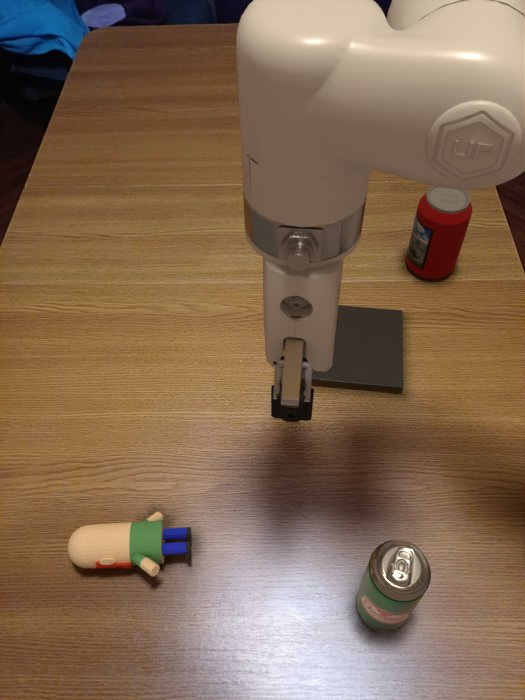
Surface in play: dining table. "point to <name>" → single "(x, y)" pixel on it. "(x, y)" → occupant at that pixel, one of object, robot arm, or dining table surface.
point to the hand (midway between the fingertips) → (295, 367)
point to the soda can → (392, 585)
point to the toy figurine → (128, 544)
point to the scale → (365, 351)
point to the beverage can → (438, 231)
